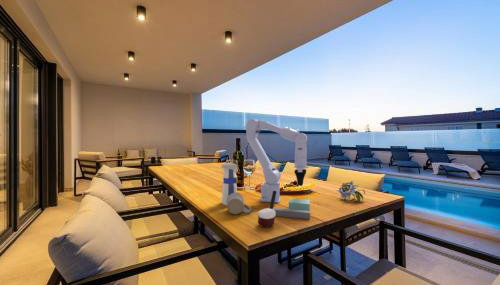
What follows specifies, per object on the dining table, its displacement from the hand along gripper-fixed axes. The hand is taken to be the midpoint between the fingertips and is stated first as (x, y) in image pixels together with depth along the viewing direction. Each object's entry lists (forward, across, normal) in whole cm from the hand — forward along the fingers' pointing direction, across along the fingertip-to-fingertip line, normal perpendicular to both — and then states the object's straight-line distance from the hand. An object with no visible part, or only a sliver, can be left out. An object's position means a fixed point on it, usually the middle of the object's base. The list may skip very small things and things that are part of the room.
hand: (300, 184), depth 110 cm
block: (+10, -9, 0) cm, 13 cm away
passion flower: (+10, +16, -26) cm, 32 cm away
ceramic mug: (+10, -20, +26) cm, 34 cm away
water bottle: (+10, -8, +34) cm, 36 cm away
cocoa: (+10, -32, +11) cm, 35 cm away
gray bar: (+9, -20, +3) cm, 22 cm away
